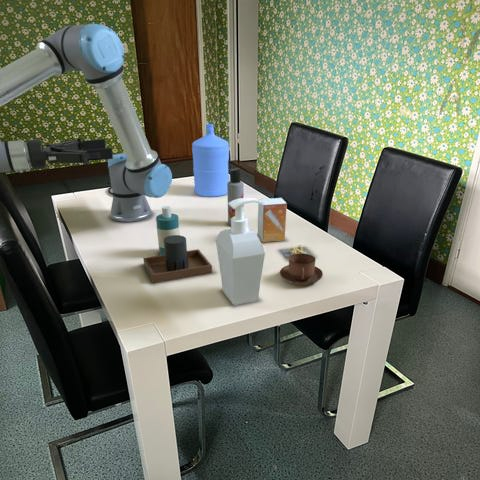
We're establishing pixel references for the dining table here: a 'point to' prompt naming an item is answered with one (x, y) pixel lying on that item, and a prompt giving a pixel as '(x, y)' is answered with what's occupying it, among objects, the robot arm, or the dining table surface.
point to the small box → (272, 219)
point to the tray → (160, 273)
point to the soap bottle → (240, 257)
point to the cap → (175, 253)
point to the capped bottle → (166, 226)
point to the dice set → (294, 251)
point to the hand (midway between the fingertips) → (108, 148)
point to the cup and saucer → (301, 270)
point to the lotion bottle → (234, 190)
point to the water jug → (210, 164)
